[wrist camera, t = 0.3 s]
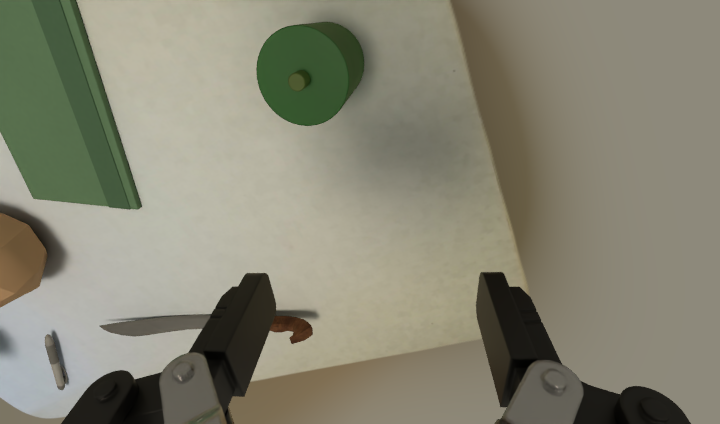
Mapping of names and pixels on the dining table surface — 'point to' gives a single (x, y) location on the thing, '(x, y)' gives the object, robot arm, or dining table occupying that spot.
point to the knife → (198, 322)
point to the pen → (55, 363)
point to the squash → (19, 259)
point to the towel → (59, 108)
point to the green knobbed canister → (309, 71)
